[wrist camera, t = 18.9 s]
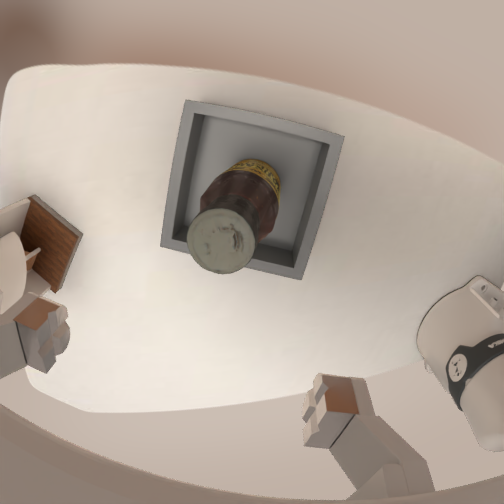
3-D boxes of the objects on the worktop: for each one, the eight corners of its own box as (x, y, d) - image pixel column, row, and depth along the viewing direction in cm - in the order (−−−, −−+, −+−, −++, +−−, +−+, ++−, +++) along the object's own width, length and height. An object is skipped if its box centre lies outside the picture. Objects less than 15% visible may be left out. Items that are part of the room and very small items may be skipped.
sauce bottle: (289, 171, 35) (307, 221, 17) (266, 218, 38) (259, 310, 19) (236, 147, 35) (195, 170, 16) (215, 196, 37) (159, 267, 19)
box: (333, 135, 34) (344, 136, 29) (297, 258, 40) (301, 280, 35) (198, 103, 34) (185, 99, 28) (175, 229, 40) (160, 246, 34)
